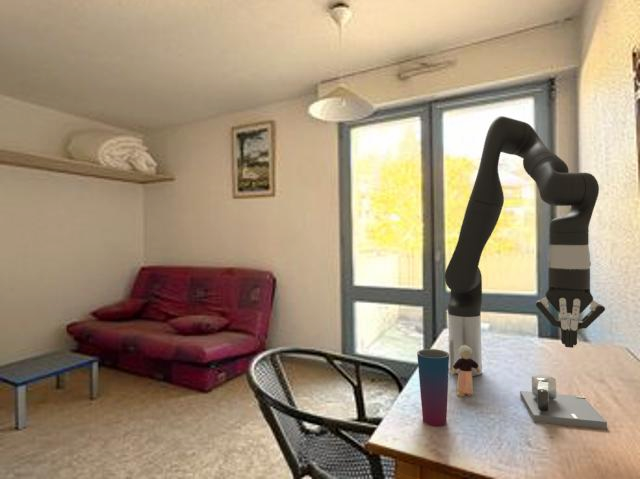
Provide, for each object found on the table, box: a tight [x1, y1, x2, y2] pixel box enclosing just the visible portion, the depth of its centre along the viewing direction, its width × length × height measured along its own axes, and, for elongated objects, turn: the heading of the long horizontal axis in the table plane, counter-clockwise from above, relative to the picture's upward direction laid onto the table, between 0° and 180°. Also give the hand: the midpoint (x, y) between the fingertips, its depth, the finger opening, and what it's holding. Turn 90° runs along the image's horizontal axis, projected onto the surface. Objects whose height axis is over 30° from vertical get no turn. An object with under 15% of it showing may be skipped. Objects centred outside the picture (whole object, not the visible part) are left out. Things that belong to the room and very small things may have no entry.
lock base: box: [519, 390, 608, 430], centre depth 88 cm, size 14×14×2 cm
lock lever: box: [531, 374, 557, 411], centre depth 88 cm, size 12×5×4 cm, turn 149°
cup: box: [416, 348, 450, 427], centre depth 85 cm, size 7×7×15 cm
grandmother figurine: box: [450, 345, 480, 397], centre depth 99 cm, size 8×4×13 cm, turn 105°
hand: (568, 346), depth 82 cm, fingers closed
